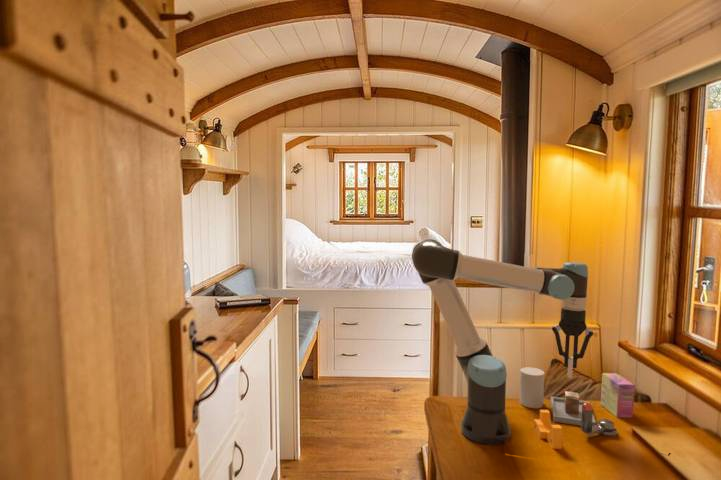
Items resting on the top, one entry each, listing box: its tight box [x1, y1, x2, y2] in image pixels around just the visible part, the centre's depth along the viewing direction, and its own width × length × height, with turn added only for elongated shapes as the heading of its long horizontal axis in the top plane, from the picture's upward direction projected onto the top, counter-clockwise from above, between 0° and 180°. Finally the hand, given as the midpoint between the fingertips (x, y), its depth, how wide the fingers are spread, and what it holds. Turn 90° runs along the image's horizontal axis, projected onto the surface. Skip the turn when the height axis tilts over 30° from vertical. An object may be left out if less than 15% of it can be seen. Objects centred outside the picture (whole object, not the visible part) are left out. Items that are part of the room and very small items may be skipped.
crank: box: [580, 402, 615, 436], centre depth 137 cm, size 13×4×10 cm, turn 114°
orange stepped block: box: [533, 409, 563, 450], centre depth 135 cm, size 12×4×6 cm, turn 176°
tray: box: [550, 396, 597, 427], centre depth 151 cm, size 13×17×2 cm
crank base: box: [598, 427, 618, 438], centre depth 133 cm, size 20×6×1 cm, turn 36°
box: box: [600, 372, 636, 419], centre depth 153 cm, size 10×6×12 cm, turn 179°
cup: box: [519, 366, 545, 409], centre depth 159 cm, size 8×8×12 cm
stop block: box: [564, 391, 580, 415], centre depth 151 cm, size 4×4×6 cm
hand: (569, 376), depth 148 cm, fingers closed
